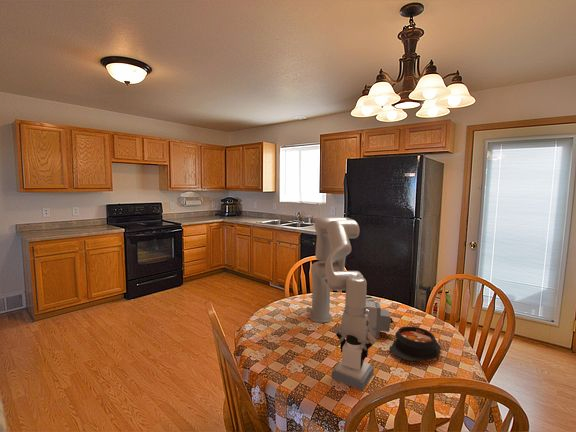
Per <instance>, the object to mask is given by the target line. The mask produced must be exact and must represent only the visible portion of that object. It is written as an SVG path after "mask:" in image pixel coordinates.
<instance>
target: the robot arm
mask: <svg viewBox="0 0 576 432" xmlns="http://www.w3.org/2000/svg"><path fill="white" fill-rule="evenodd" d="M314 230H315V233H316V244H315V258H316V260H317V261H315V262H313V263H312V264H311V267H310V270H311V271H310V273H311V279H312V293H311V295H312V296H311V306H306V310H305V312H306V313H309V314H308V319H309V320H310V321H312V322H314V323H318V324H325V323H329V322H331V321H332V320H333V316H332V314H330V310H331V309H330V304H331V301H330V300H331V291H334V292H335V291H339V292H340V291H345V297H344V298H345V300H344V301H345V302H344V304H345V305H344V311H342V317H341V323H340V325H338V326H335V327H334V328H333V331H334V333H335V335H336V337H337V339H338V341H339V342H340V344H339V346H340V348H339V349H340V352H341V353H342V348H343V346H344V344H345V342H346V338H347V335H352V336H354V337H356V338H357V339H358V342H360V343H361V344H362V346H363V349H362V360H364V361H365V359H366V358H368V355H369V349H370V348H371V347H372V346H374V345H375V344H376V343H377V338H374V337H373V336H372V335H371V334H370V333H369V319H368V314H369V310H367V308H366V296H367V287H368V286H367V285H368V283H367V280H366V278H365V277H364V275H363V274H362V273H361V272H360V271H359V270H345V266H346V257H347V256H348V255H350V254H351V253H352V245H351V242H350V239H357V238H358V237H359V235H360V230H361V229H360V226H359V223H358V222H357V221H356V220H355V219H352V218H350V217H341V216H340V217H336V216H335V217H334V216H333V217H331V216H330V217H329V216H328V217H325V216H324V217H322V216H321V217H318V218H316V219H315V221H314ZM367 339H369V341H370V342H368V340H367Z"/></svg>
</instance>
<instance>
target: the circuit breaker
mask: <svg viewBox="0 0 576 432" xmlns="http://www.w3.org/2000/svg"><path fill="white" fill-rule="evenodd" d="M366 308H367V310H369V314H368V319H369V333H370V334H371V335H372V336H373V337H374V338H375V339H380V337H381V336H380V333H381V332H389V333H390V329H391V328H390V326H391V324H394V320H393V318H392V317H391V315H390V311H389V310H388V309H382V308H381V304H380V302H379V301H375V302H372V301H366Z"/></svg>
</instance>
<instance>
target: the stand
mask: <svg viewBox="0 0 576 432" xmlns="http://www.w3.org/2000/svg"><path fill="white" fill-rule="evenodd" d="M374 371H375V366H374V365H371V363H368V362H365V361H364V362H363V365H362V368H361V370H359V369H355V368H351V367H347V366H344V365H342V359H341V360H340V361H339V362H338V363H337V364H336V366H335V367H334V368H333V369H332V370H331V379H332V380H334V381H337V382H340V383H342V384H344V385H347V386H349V387H352V388H355V389H357V390H359V391H364V390H365V388H366V387H367V385H368V383H369V381H370V380H371V378H372V377H373V375H374V374H375V373H374Z"/></svg>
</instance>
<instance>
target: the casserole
mask: <svg viewBox="0 0 576 432" xmlns="http://www.w3.org/2000/svg"><path fill="white" fill-rule="evenodd" d="M388 349H389V351H390V352H391V354H392V355H395V357H398V358H400V359H402V360H404V361H407V362H416V361H417V362H418V361H431V360H434V359H436V358H438V357H439V354H440V350H441V349H442V346H441V345H440V344H439V343H438V341H437V339H436V337H435V335H434V334H433V333H432V332H430V331H429V330H427V329H426V328H422V327H418V326H410V325H409V326H402V327H400V328H398V330H397V331H396V332H395V340H393V342H392V345H391V346H389V348H388Z"/></svg>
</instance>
